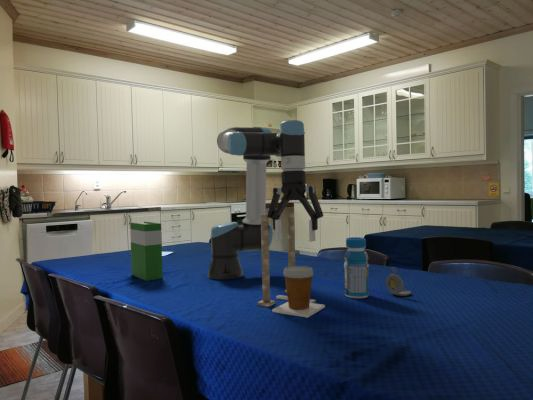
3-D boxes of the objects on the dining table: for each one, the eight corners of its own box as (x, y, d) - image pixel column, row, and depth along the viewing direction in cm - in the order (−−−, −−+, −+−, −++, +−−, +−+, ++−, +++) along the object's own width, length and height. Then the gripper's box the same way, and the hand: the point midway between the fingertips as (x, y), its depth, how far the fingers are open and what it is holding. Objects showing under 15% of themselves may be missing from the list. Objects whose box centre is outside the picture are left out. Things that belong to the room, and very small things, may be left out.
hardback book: (131, 274, 189) (130, 222, 188) (147, 272, 193) (145, 221, 193) (146, 280, 175) (144, 224, 174) (162, 278, 179) (161, 223, 179)
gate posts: (258, 305, 133) (255, 215, 133) (290, 290, 152) (288, 212, 151) (268, 306, 131) (266, 216, 131) (299, 292, 150) (298, 212, 149)
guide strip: (273, 299, 139) (273, 297, 139) (279, 297, 143) (279, 294, 143) (310, 305, 132) (310, 302, 132) (315, 302, 135) (315, 299, 135)
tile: (272, 311, 126) (272, 309, 126) (291, 302, 136) (291, 300, 136) (307, 317, 119) (307, 314, 119) (324, 307, 129) (324, 304, 129)
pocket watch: (410, 292, 146) (410, 264, 145) (410, 298, 138) (410, 268, 137) (386, 291, 148) (386, 263, 148) (385, 297, 140) (384, 267, 140)
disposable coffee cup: (313, 312, 122) (312, 271, 122) (281, 310, 124) (280, 271, 123) (315, 303, 131) (315, 265, 131) (286, 302, 133) (285, 265, 133)
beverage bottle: (355, 300, 137) (354, 240, 136) (339, 294, 144) (338, 238, 144) (374, 296, 141) (373, 238, 140) (358, 291, 148) (357, 236, 148)
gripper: (255, 172, 132) (257, 240, 132) (323, 167, 119) (325, 242, 119) (267, 173, 138) (269, 238, 138) (333, 168, 126) (335, 240, 126)
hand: (295, 240), depth 129 cm, fingers open, 11 cm apart
